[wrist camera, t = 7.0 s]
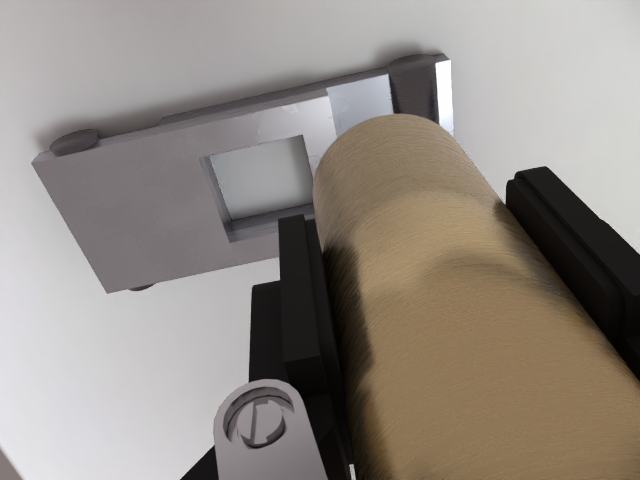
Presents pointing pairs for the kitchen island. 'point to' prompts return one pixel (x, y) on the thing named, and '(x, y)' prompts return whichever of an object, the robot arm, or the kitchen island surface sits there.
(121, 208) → the hinged hasp latch
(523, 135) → the kitchen island surface
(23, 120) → the kitchen island surface
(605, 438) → the brass pin
